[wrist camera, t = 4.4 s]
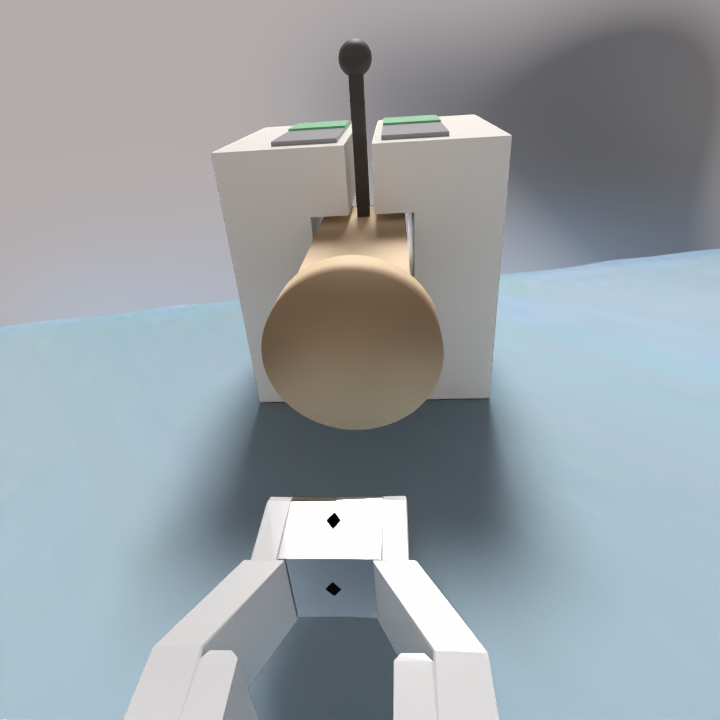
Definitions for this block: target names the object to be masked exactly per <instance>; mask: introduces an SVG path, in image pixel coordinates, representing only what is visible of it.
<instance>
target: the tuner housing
mask: <svg viewBox="0 0 720 720" xmlns="http://www.w3.org/2000/svg"><path fill="white" fill-rule="evenodd" d="M511 139H512V135H510V134H508V133H507V132H505V131H503V130H501V129H499V128H498V127H496V126H494V125H492V124H490V123H489V122H487V121H485V120H483V119H481V118H479V117H478V116H476V115H459V116H443V117H438V116H437V115H424V116H407V117H391V118H384V119H383V120H378V122H377V126H376V129H375V133H374V137H373V141H372V161H373V183H374V207H375V214H390V213H408V241H409V242H408V243H407V244H408V255H409V267H410V275H411V276H413V277H414V278H415V279H416V280H417V281H418V282H419V283H420V284H421V285H422V286H423V288H424V289H425V290H426V292H427V293H428V295H429V296H430V298H431V300H432V302H433V304H434V306H435V309H436V312H437V314H438V319H439V324H440V330H441V335H442V341H443V348H444V359H443V367H442V371H441V375H440V378H439V380H438V382H437V385H436V387H435V388H434V390H433V391H432V393H431V395H430V396H429V397H428V398H427V399H466V398H489V396H490V384H491V373H492V361H493V349H494V338H495V326H496V314H497V303H498V291H499V279H500V267H501V256H502V244H503V233H504V221H505V208H506V198H507V186H508V174H509V163H510V151H511V150H510V149H511ZM211 156H212V161H213V167H214V172H215V177H216V182H217V187H218V192H219V197H220V202H221V207H222V212H223V217H224V222H225V227H226V232H227V237H228V242H229V247H230V253H231V257H232V262H233V268H234V273H235V278H236V283H237V288H238V293H239V298H240V303H241V308H242V313H243V318H244V323H245V328H246V334H247V339H248V344H249V349H250V354H251V359H252V364H253V369H254V374H255V379H256V384H257V389H258V394H259V399H260V402H285V401H284V400H283V399H282V398H281V397H280V396H279V394H278V393H277V392H276V390H275V389H274V388H273V386H272V384H271V382H270V381H269V379H268V376H267V374H266V371H265V368H264V365H263V361H262V352H261V343H262V335H263V330H264V327H265V324H266V321H267V319H268V317H269V315H270V313H271V311H272V309H273V307H274V305H275V303H276V301H277V299H278V297H279V295H280V293H281V291H282V290H283V289H284V287H285V286H286V285H287V283H288V282H289V281H290V280H291V279H292V278H293V277H294V276H295V275H296V274H298V272H299V270H300V267H301V265H302V263H303V261H304V259H305V256H306V254H307V252H308V250H309V248H310V246H311V243H312V241H313V239H314V237H315V235H316V233H317V230H318V228H319V226H320V224H321V222H322V219H323V217H327V216H348V215H349V213H350V210H351V207H352V203H353V200H354V196H355V193H356V186H355V170H354V154H353V138H352V122H351V120H343V121H328V122H313V123H312V122H311V123H300V124H296V125H295V126H282V127H266V128H264V129H261V130H259V131H257V132H255V133H253V134H251V135H248V136H247V137H244V138H242V139H240V140H238V141H236V142H234V143H232V144H229V145H227V146H225V147H223V148H221V149H219V150H217V151H214V152H212V153H211Z"/></svg>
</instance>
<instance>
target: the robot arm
mask: <svg viewBox="0 0 720 720" xmlns="http://www.w3.org/2000/svg"><path fill="white" fill-rule="evenodd" d="M297 617H361V618H378V621H379V623H380V625H381V626H382V628H383V630H384V632H385V634H386V636H387V637H388V639H389V641H390V643H391V645H392V647H393V648H394V650H395V652H396V654H397V656H398V657H397V658H396V659H395V660H394V698H393V720H499V716H498V710H497V704H496V698H495V692H494V686H493V680H492V674H491V668H490V662H489V656H488V652H487V651H486V650H485V649H484V647H483V646H482V645H481V643H480V642H479V641H478V640H477V638H476V637H475V636H474V634H473V633H472V632H471V630H470V629H469V628H468V627H467V625H466V624H465V623H464V621H463V620H462V619H461V618H460V616H459V615H458V614H457V612H456V611H455V610H454V608H453V607H452V606H451V605H450V603H449V602H448V601H447V599H446V598H445V597H444V596H443V594H442V593H441V592H440V590H439V589H438V588H437V586H436V585H435V584H434V583H433V581H432V580H431V579H430V577H429V576H428V575H427V574H426V572H425V571H424V570H423V568H422V567H421V566H420V564H419V563H418V562H417V561H416V560H409V541H408V515H407V498H406V496H365V497H338V498H336V497H270V499H269V500H268V502H267V504H266V507H265V511H264V514H263V518H262V521H261V525H260V528H259V532H258V535H257V539H256V542H255V546H254V549H253V553H252V556H251V560H243V561H242V562H241V563H240V564H239V565H238V566H237V567H236V568H235V569H234V570H233V571H232V572H231V573H230V574H229V575H228V576H227V577H226V578H224V579H223V580H222V581H221V582H220V583H219V584H218V585H217V586H216V587H215V588H214V589H213V590H212V591H211V592H210V593H209V594H208V595H207V596H206V597H205V598H204V599H203V600H202V601H200V602H199V603H198V604H197V605H196V606H195V607H194V608H193V609H192V610H191V611H190V612H189V613H188V614H187V615H186V616H185V617H184V618H183V619H182V620H181V621H180V622H179V623H177V624H176V625H175V626H174V627H173V628H172V629H171V630H170V631H169V632H168V633H167V634H166V635H165V636H164V637H163V638H162V639H161V640H160V641H159V642H158V643H157V644H156V645H155V646H153V648H152V651H151V653H150V656H149V658H148V661H147V663H146V665H145V668H144V670H143V673H142V675H141V678H140V680H139V682H138V685H137V687H136V690H135V692H134V695H133V697H132V699H131V702H130V704H129V707H128V709H127V712H126V714H125V716H124V719H123V720H259V719H258V716H257V713H256V710H255V707H254V704H253V702H252V699H251V696H250V693H249V690H248V688H249V687H250V685H251V684H252V683H253V681H254V680H255V678H256V677H257V676H258V674H259V673H260V671H261V670H262V669H263V667H264V666H265V665H266V663H267V662H268V660H269V659H270V658H271V656H272V655H273V653H274V652H275V651H276V649H277V648H278V646H279V645H280V644H281V642H282V641H283V639H284V638H285V637H286V635H287V634H288V632H289V631H290V630H291V628H292V627H293V625H294V624H295V623H296V621H297ZM0 720H10V719H0Z"/></svg>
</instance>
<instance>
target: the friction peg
mask: <svg viewBox="0 0 720 720" xmlns="http://www.w3.org/2000/svg"><path fill="white" fill-rule="evenodd" d="M371 60H372V57H371V51H370V49H369V47H368V45H367V44H366V43H365V42H364V41H362V40H360V39H350V40H348V41H346V42H345V43H344V44H343V45H342V47H341V49H340V52H339V64H340V67H341V69H342V70H343V72H344V73H345V74H347V75H348V76H349V90H350V105H351V122H352V138H353V154H354V170H355V186H356V202H357V206H352V207H351V210H350V213H349V215H348V216H327V217H323V219H322V222H321V224H320V226H319V228H318V230H317V233H316V235H315V237H314V239H313V241H312V243H311V246H310V248H309V250H308V252H307V254H306V256H305V259H304V261H303V263H302V265H301V267H300V270H299V272H298V274H296V275H295V276H294V277H293V278H292V279H291V280H290V281H289V282H288V283H287V285H286V286H285V287H284V289H283V290H282V291H281V293H280V295H279V297H278V299H277V301H276V303H275V305H274V307H273V309H272V311H271V313H270V315H269V317H268V319H267V321H266V324H265V327H264V330H263V335H262V343H261V352H262V361H263V365H264V368H265V371H266V374H267V376H268V379H269V381H270V382H271V384H272V386H273V388H274V389H275V390H276V392H277V393H278V394H279V396H280V397H281V398H282V399H283V400H284V401H285V402H286V403H287V404H288V405H289V406H290V407H292V408H293V409H294V410H295V411H297V412H298V413H300V414H301V415H303V416H305V417H306V418H309V419H311V420H313V421H315V422H317V423H320V424H323V425H326V426H330V427H334V428H339V429H346V430H366V429H373V428H379V427H383V426H386V425H389V424H392V423H394V422H397V421H399V420H401V419H403V418H405V417H406V416H408V415H410V414H411V413H412V412H414V411H415V410H416V409H418V408H419V407H420V406H421V405H422V404H423V403H424V402H425V401H426V400H427V398H428V397H429V396H430V395H431V393H432V391H433V390H434V388H435V387H436V385H437V382H438V380H439V378H440V375H441V371H442V367H443V359H444V348H443V341H442V335H441V330H440V324H439V319H438V314H437V312H436V309H435V306H434V304H433V302H432V300H431V298H430V296H429V295H428V293H427V292H426V290H425V289H424V288H423V286H422V285H421V284H420V283H419V282H418V281H417V280H416V279H415V278H414V277H413V276H411V275H410V267H409V255H408V244H407V233H406V222H405V213H390V214H375V207H374V205H370V199H369V178H368V159H367V140H366V139H367V138H366V118H365V99H364V78H363V75H364V74H365V73H366V72H367V71H368V69H369V67H370V65H371Z"/></svg>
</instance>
